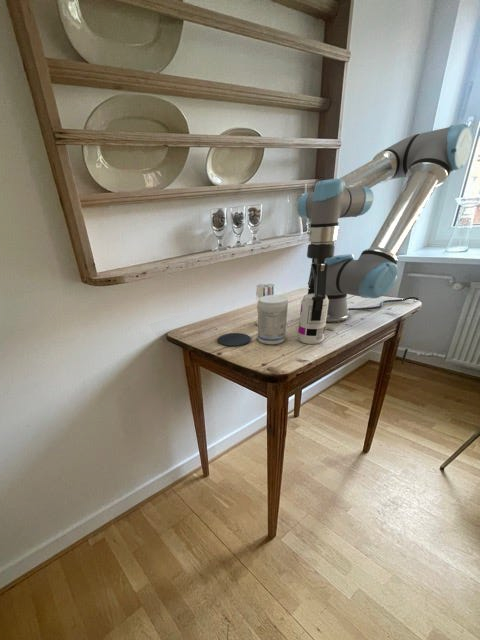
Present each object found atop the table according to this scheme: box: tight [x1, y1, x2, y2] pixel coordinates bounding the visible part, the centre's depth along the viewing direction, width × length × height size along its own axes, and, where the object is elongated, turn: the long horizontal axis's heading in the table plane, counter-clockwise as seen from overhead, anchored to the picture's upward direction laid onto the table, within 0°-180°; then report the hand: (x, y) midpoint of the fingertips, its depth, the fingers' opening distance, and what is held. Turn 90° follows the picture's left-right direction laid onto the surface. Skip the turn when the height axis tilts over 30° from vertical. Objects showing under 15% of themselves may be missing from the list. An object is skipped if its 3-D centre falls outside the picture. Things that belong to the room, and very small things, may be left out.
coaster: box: [217, 332, 252, 347], centre depth 109 cm, size 12×12×1 cm
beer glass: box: [255, 283, 275, 326], centre depth 117 cm, size 7×7×15 cm
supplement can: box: [297, 293, 329, 345], centre depth 99 cm, size 8×8×15 cm
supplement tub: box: [257, 294, 289, 345], centre depth 102 cm, size 10×10×15 cm
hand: (312, 314), depth 98 cm, fingers open, 13 cm apart
